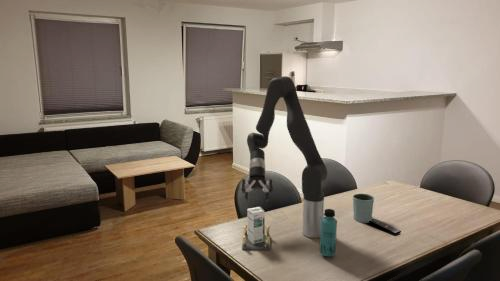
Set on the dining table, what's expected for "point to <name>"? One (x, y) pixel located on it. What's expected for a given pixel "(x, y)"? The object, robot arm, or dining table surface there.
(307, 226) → the robot arm
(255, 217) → the syrup box
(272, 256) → the dining table surface
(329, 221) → the beverage bottle
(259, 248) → the chassis plate
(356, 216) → the teal cup
